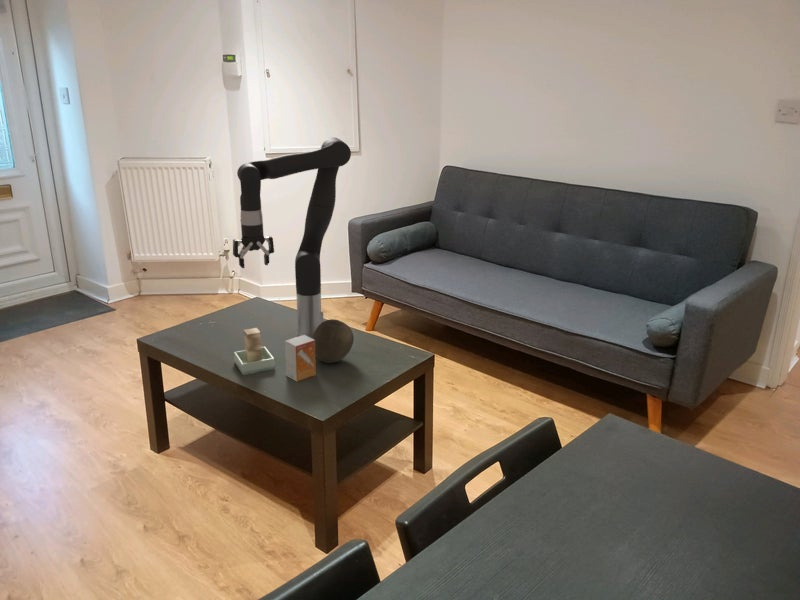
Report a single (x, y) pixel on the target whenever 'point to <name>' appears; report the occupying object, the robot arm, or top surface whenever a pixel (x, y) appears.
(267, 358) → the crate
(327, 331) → the brown leather ball
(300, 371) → the small box
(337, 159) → the robot arm
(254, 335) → the birch block
